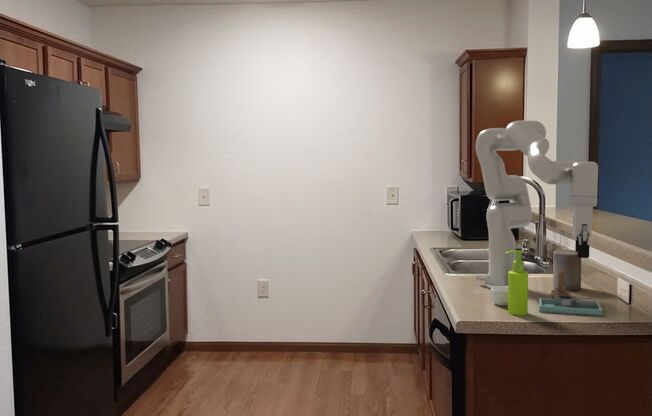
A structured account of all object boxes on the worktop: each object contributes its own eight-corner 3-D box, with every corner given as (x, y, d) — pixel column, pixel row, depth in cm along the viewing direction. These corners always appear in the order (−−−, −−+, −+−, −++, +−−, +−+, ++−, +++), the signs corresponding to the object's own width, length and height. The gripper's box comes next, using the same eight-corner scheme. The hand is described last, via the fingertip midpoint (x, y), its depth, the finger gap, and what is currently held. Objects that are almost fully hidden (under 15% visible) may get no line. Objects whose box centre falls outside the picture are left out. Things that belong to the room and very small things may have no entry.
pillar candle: (583, 287, 212) (583, 247, 211) (578, 292, 204) (578, 251, 203) (555, 284, 217) (556, 245, 216) (550, 289, 209) (550, 249, 208)
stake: (548, 303, 189) (549, 271, 188) (547, 298, 197) (548, 266, 196) (574, 305, 187) (575, 272, 186) (572, 299, 194) (573, 268, 193)
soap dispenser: (501, 310, 182) (502, 249, 180) (522, 310, 182) (523, 248, 180) (509, 316, 176) (510, 252, 174) (530, 315, 176) (531, 251, 175)
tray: (539, 311, 180) (539, 305, 180) (538, 303, 190) (539, 298, 190) (601, 316, 174) (602, 310, 174) (598, 307, 184) (598, 301, 183)
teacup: (519, 306, 187) (519, 290, 186) (497, 308, 185) (497, 291, 185) (504, 299, 197) (504, 283, 196) (483, 300, 195) (483, 285, 195)
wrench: (554, 309, 180) (555, 298, 180) (553, 304, 186) (554, 294, 186) (597, 312, 176) (597, 301, 176) (594, 307, 182) (594, 296, 182)
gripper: (568, 198, 187) (567, 249, 189) (572, 203, 171) (571, 259, 172) (593, 199, 184) (592, 250, 186) (600, 203, 168) (598, 260, 170)
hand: (582, 254), depth 179 cm, fingers open, 9 cm apart
